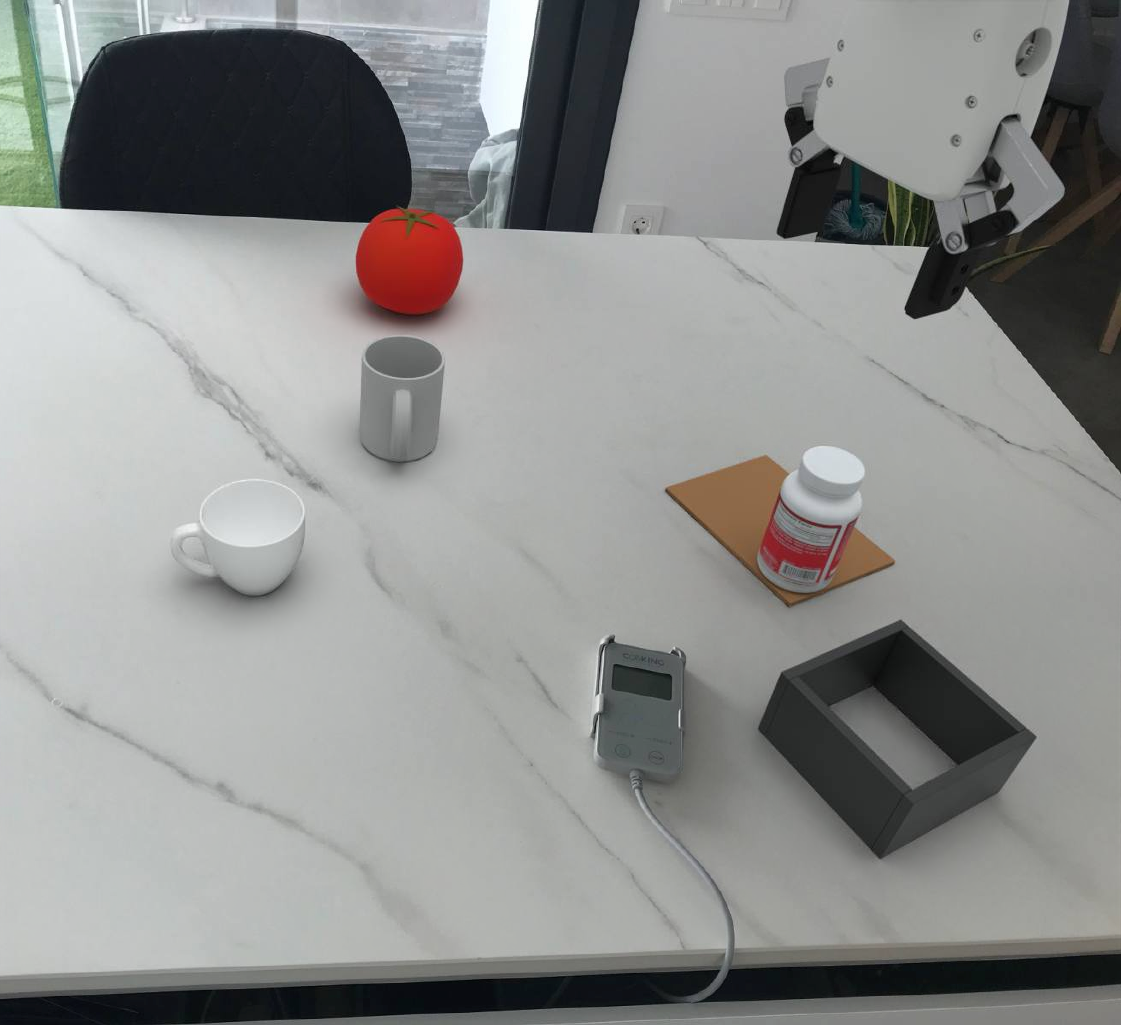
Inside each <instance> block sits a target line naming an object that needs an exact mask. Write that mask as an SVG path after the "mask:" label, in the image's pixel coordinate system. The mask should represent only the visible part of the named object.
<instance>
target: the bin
mask: <svg viewBox="0 0 1121 1025" xmlns="http://www.w3.org/2000/svg"><path fill="white" fill-rule="evenodd" d="M872 686H874V687H875V688H876V689H877V690H878V691H879V692H880V693H881V694H882V695H883V696H884V697H885V698H887V699H888V700H889V702H891V703H892V705H894V706H895V707H896V708H897V709H898V710H899V711H900V712H901V713H902V714H904V715H905V716H906V717H907V718H908V719H909V720H910V721H911V722H912V723H914V725H915V726H916V727H917V728H918V729H920V730H921V731H922V732H923V733H924V734H925V735H926V736H927V737H928V738H929V739H930V740H932V741H933V743H935V745H937V747H939V748H940V750H942V751H943V752H944V753H945V754H947V756H949V757H950V758H951V759H952V760H953V761H954V762H955V763H956V764H957V765H955V766H954V767H953V768H950V769H948V770H947V771H944V772H942V773H941V774H939V775H937V776H936V777H933V778H932V779H930V780H928V781H926V782H924V783H922V784H921V785H919V786H917V787H914V788H912V787H911V786H910V785H909V784H907V783H906V781H905V780H903V778H901V777H900V776H899V775H898V773H896V771H895V770H893V769H892V768H891V766H889V765H888V763H886V761H884V759H882V757H880V756H879V755H878V754H877V753H876V752H875V750H873V749H872V748H871V747H870V746H869V745H868V744H867V743H866V742H865V741H864V740H863V739H862V738H861V737H860V736H859V734H857V733H856V732H855V731H854V730H853V729H851V727H850V726H849V725H848V724H847V723H846V722H845V721H844V720H842V718H841V717H839V715H838V714H837V713H836V712H835V711H833V709H832V708H831V707H830V706H832V705H834V704H837V703H839V702H841V701H844V700H846V699H847V698H849V697H851V696H854V695H855V694H857V693H860V692H862V691H864V690H866V689H869V688H870V687H872ZM768 700H769V701H768V702H767V705H766V707H765V709H764V712H763V715H762V717H761V719H760V722H759V724H758V727H757V729H758V730H759V732H761V733H762V735H763V736H764V737H765V738H766V739H767V740H768V741H769V742H770V743H771V744H772V745H773V746H774V747H775V749H776V750H777V751H778V752H779V753H780V754H781V755H782V756H783V757H784V758H785V759H786V760H787V761H788V762H789V763H790V764H791V766H792V767H793V768H794V769H795V770H796V771H797V772H798V773H799V775H800V776H802V777H803V779H805V781H806V782H807V783H808V784H809V785H810V786H811V787H812V788H813V790H814V791H816V793H818V794H819V795H820V797H821V798H822V799H823V800H824V801H825V802H826V803H827V804H828V805H829V806H830V807H831V809H833V810H834V812H835V813H836V814H837V815H838V816H839V817H840V818H841V819H842V820H843V821H844V822H845V823H846V825H847V826H848V827H849V828H851V830H853V832H854V833H855V834H856V835H857V836H858V837H859V838H860V839H861V840H862V841H863V843H864V844H865V845H866V846H867V847H868V848H869V849H870V850H871V851H872V852H873V853H874V854H875V855H876V857H877V858H879V859H880V860H881V859H883V858H885V857H887V856H888V855H891V854H893V853H894V852H895V851H897V850H899V849H901V848H902V847H904V846H906V845H908V844H911V842H913V841H915V840H916V839H918V838H920V837H922V836H923V835H925V834H927V833H929V832H930V831H932V830H934V829H936V828H938V827H940V826H941V825H943V824H945V823H947V822H948V821H950V820H952V819H954V818H956V817H957V816H959V815H962V814H963V813H964V812H967V811H968V810H970V809H971V808H973V807H975V806H976V805H978V804H980V803H983V802H984V801H986V800H987V799H989V798H992V797H993V796H994V795H996V794H998V793H1000V792H1001V790H1002V789H1003V787H1004V786H1005V784H1006V783H1007V782H1008V780H1009V779H1010V777H1011V776H1012V774H1013V773H1014V771H1015V769H1017V767H1018V765H1019V764H1020V763H1021V761H1022V760H1023V759H1024V757H1025V755H1026V754H1027V752H1028V751H1029V749H1030V748H1031V747H1032V745H1033V744H1034V742H1035V741H1036V739H1037V738H1038V736H1037V735H1036V734H1035V733H1034V732H1032V731H1031V730H1030V729H1029V728H1027V727H1026V726H1025V725H1024V724H1023V723H1022V722H1021V721H1020V720H1018V719H1017V718H1016V717H1015V716H1014V715H1013V714H1012V713H1010V712H1009V711H1008V710H1007V709H1005V707H1003V706H1002V705H1001V704H1000V703H999V702H997V700H996V699H995V698H993V697H991V695H989V694H988V693H987V692H986V691H985V690H984V689H982V688H981V687H980V685H978V684H976V682H974V681H973V680H972V679H971V678H970V677H969V676H967V675H966V674H965V673H964V672H963V671H961V670H960V668H958V667H957V666H956V665H954V664H953V662H951V661H950V660H949V659H947V658H946V657H945V656H944V655H943V654H942V653H940V652H939V651H938V649H936V648H935V647H934V646H932V644H930V643H929V642H928V641H927V640H926V639H925V638H923V637H922V636H921V635H920V634H919V633H917V631H916V630H914V629H913V628H911V627H910V626H909V625H908V624H907V623H906V622H905V621H903V620H902V619H898V620H896V621H894V622H892V623H890V624H887V625H884V626H882V627H881V628H878V629H876V630H874V631H872V632H869V633H866V634H864V635H862V636H860V637H857V638H855V639H853V640H851V641H849V642H846V643H844V644H842V645H840V646H838V647H836V648H833V649H830V650H829V651H826V652H824V653H821V654H820V655H817V656H815V657H812V658H810V659H808V660H806V661H803V662H801V663H798V664H797V665H794V666H791V667H790V668H787V669H784V670H783V671H781V672H780V674H779V677H778V679H777V681H776V684H775V686H774V688H773V691H772V693H771V695H770V698H769V699H768Z"/></svg>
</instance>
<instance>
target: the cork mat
mask: <svg viewBox="0 0 1121 1025" xmlns="http://www.w3.org/2000/svg"><path fill="white" fill-rule="evenodd" d="M789 474H790V473H789V472H788V471H787V470H786V469H784V468H783V467H782V466H781V465H779V464H778V463H777V462H776V461H775V460H774V459H772V458H771V457H770V456H768V455H767V454H765V455H761V456H758V457H755V458H751V459H749V460H746V461H743V462H740V463H737V464H734V465H731V466H727V467H724V468H721V469H718V470H715V471H712V472H709V473H706V474H702V475H700V476H697V477H696V476H695V477H694V478H691V479H687V480H684V481H681V482H678V483H675V484H673V485H669V486H666V487H665V489H664V492H666V493H667V494H668V495H669V496H670V497H671V498H672V499H673V500H674V501H675V502H677V504H679V506H681V507H682V508H683V510H685V511H686V512H687V513H688V514H689V515H690V516H691V517H693V518H694V519H695V520H696V521H697V522H698V523H699V524H700V525H701V526H702V527H703V528H704V529H705V530H706V531H708V532H709V534H711V535H712V537H714V538H715V539H716V540H717V541H718V542H719V543H720V544H721V545H723V547H725V548H726V549H727V550H728V551H729V552H730V553H731V554H732V555H733V556H734V557H735V558H736V559H737V560H739V561H740V562H741V563H742V564H743V565H744V567H746V568H747V570H749V571H750V572H752V573H753V574H754V575H755V577H757V578H758V579H759V580H760V582H762V583H763V584H764V585H765V586H766V587H768V588H769V589H770V590H771V592H772V593H773V594H775V595H776V596H777V597H778V598H779V599H780V600H782V601H783V603H785V604H786V605H787V606H788V607H793V606H795V605H797V604H799V603H802V602H804V601H807V600H810V599H811V598H814V597H816V596H817V597H818V596H819V595H821V594H824V593H827V592H829V591H831V590H835V589H837V588H838V587H841V586H843V585H846V584H848V583H851V582H853V581H856V580H858V579H860V578H863V577H866V576H869V575H871V574H873V573H875V572H878V571H880V570H882V569H885V568H888V567H890V566H893V565H894V564H895V563H896V560H895V559H894V558H893V557H892V556H890V555H889V554H888V553H887V552H885V550H883V549H882V548H880V547H879V545H877V544H876V543H875V542H873V541H872V540H871V539H870V538H869V537H867V535H865V534H864V533H863V532H861V531H860V530H859V529H857V528H856V527H855V526H854V529H853V531H852V533H851V535H850V538H849V540H848V543H847V545H846V547H845V550H844V552H843V554H842V557H841V559H840V562H839V564H838V567H837V569H836V571H835V574H834V576H833V578H832V580H831V582H830V583H829V584H828V585H827V586H826V587H825V588H823V589H821V590H819V591H816V592H812V593H798V592H792V591H788V590H785V589H782V588H780V587H778V586H777V585H775V584H773V583H772V582H771V581H769V580H768V579H767V578H766V577H765V576H764V575H763V573H762V572H761V570H760V568H759V566H758V562H757V556H758V552H759V549H760V546H761V543H762V540H763V537H764V534H765V531H766V528H767V526H768V523H769V520H770V517H771V514H772V511H773V509H774V506H775V503H776V500H777V497H778V494H779V492H780V489H781V486H782V484H783V481H784V480H785V478H786V477H787V476H788V475H789Z"/></svg>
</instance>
